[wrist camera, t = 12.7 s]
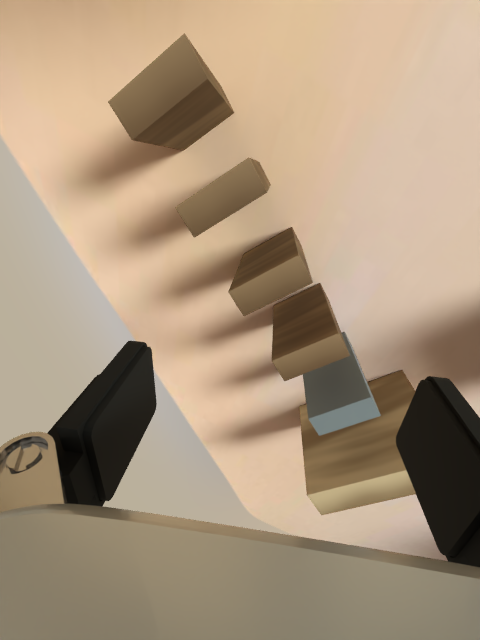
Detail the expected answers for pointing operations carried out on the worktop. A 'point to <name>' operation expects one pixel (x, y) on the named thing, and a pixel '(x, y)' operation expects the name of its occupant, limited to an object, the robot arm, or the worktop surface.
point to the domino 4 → (305, 334)
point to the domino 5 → (338, 394)
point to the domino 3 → (270, 273)
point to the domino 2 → (224, 196)
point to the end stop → (359, 453)
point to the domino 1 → (172, 99)
